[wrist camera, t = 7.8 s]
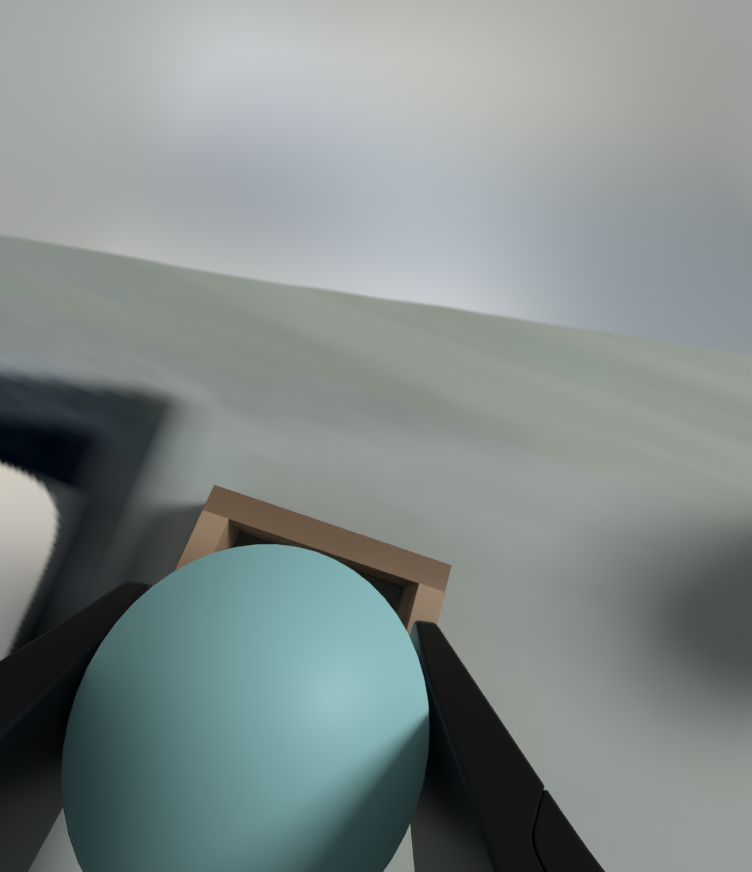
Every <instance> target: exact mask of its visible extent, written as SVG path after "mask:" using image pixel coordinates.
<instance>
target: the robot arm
mask: <svg viewBox="0 0 752 872" xmlns="http://www.w3.org/2000/svg"><path fill="white" fill-rule="evenodd" d="M151 587H152V585H151V584H150V583H146V582H139V581H128V582H126V583H124V584H122V585H121V586H119V587H117V588H116V589H114V590H113V591H111V592H109V593H108V594H106V595H105V596H103V597H101V598H100V599H98V600H97V601H95V602H94V603H92V604H90V605H89V606H87V607H86V608H84V609H82V610H81V611H79V612H78V613H76V614H74V615H73V616H71V617H70V618H68V619H66V620H65V621H63V622H62V623H60V624H58V625H57V626H55V627H54V628H52V629H50V630H49V631H47V632H46V633H44V634H43V635H41V636H39V637H38V638H36V639H35V640H33V641H31V642H30V643H28V644H27V645H25V646H23V647H22V648H20V649H19V650H17V651H15V652H14V653H12V654H11V655H9V656H7V657H6V658H4V659H3V660H1V661H0V872H28V871H29V869H30V867H31V865H32V863H33V861H34V860H35V858H36V856H37V854H38V852H39V850H40V849H41V847H42V845H43V843H44V841H45V839H46V838H47V836H48V834H49V832H50V830H51V828H52V826H53V825H54V823H55V821H56V819H57V817H58V815H59V814H60V812H61V810H62V808H63V799H62V782H61V773H62V757H63V746H64V740H65V735H66V729H67V724H68V719H69V716H70V713H71V709H72V706H73V703H74V700H75V696H76V693H77V691H78V688H79V686H80V684H81V681H82V679H83V677H84V674H85V672H86V670H87V667H88V666H89V664H90V662H91V660H92V659H93V657H94V655H95V653H96V652H97V650H98V648H99V646H100V645H101V643H102V642H103V640H104V639H105V637H106V636H107V635H108V633H109V632H110V631H111V629H112V628H113V626H114V625H115V624H116V622H117V621H118V620H119V619H120V618H121V617H122V616H123V614H124V613H125V612H126V611H127V610H128V609H129V608H130V607H131V606H132V604H133V603H134V602H136V601H137V600H138V599H139V598H140V597H141V596H142V595H143V594H144V593H146V592H147V591H148V590H149V589H150V588H151ZM410 639H411V642H412V644H413V646H414V649H415V651H416V653H417V656H418V659H419V663H420V666H421V669H422V673H423V676H424V681H425V687H426V692H427V698H428V708H429V726H430V730H429V749H428V758H427V764H426V770H425V776H424V782H423V785H422V789H421V792H420V796H419V799H418V803H417V807H416V809H415V812H414V814H413V817H412V819H411V822H410V825H411V836H412V847H413V858H414V869H415V872H605V871H604V870H603V868H602V867H601V866H600V864H599V863H598V862H597V860H596V859H595V858H594V856H593V855H592V854H591V852H590V851H589V850H588V849H587V847H586V846H585V844H584V843H583V841H582V840H581V839H580V837H579V836H578V834H577V833H576V831H575V830H574V828H573V827H572V826H571V824H570V823H569V821H568V820H567V818H566V817H565V816H564V814H563V813H562V811H561V810H560V808H559V807H558V805H557V804H556V802H555V801H554V799H553V798H552V796H551V795H550V793H549V792H548V791H547V790H544V785H543V783H542V782H541V780H540V779H539V777H538V776H537V774H536V773H535V771H534V770H533V768H532V767H531V765H530V764H529V762H528V761H527V759H526V758H525V756H524V755H523V753H522V752H521V750H520V749H519V747H518V746H517V744H516V743H515V741H514V740H513V738H512V737H511V735H510V734H509V732H508V731H507V729H506V728H505V726H504V725H503V723H502V722H501V720H500V719H499V717H498V716H497V714H496V713H495V711H494V710H493V708H492V707H491V705H490V704H489V702H488V701H487V699H486V698H485V696H484V695H483V693H482V692H481V690H480V689H479V687H478V686H477V684H476V683H475V681H474V680H473V678H472V677H471V675H470V674H469V672H468V671H467V669H466V668H465V666H464V665H463V663H462V662H461V660H460V659H459V657H458V656H457V654H456V653H455V651H454V650H453V648H452V647H451V645H450V644H449V642H448V641H447V639H446V638H445V636H444V635H443V633H442V632H441V630H440V629H439V627H438V626H437V625H436V624H435V623H434V622H428V621H421V620H417V621H415V622H414V624H413V626H412V630H411V634H410Z"/></svg>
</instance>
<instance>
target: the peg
mask: <svg viewBox="0 0 752 872" xmlns="http://www.w3.org/2000/svg"><path fill="white" fill-rule="evenodd" d="M429 730H430V726H429V708H428V698H427V692H426V687H425V681H424V676H423V673H422V669H421V666H420V663H419V659H418V656H417V653H416V651H415V649H414V646H413V644H412V642H411V639H410V637H409V634H408V633H407V631H406V629H405V628H404V626H403V624H402V622H401V621H400V619H399V617H398V615H397V614H396V613H395V611H394V610H393V609H392V607H391V606H390V605H389V603H388V602H387V601H386V600H385V598H384V597H383V596H382V595H381V594H380V593H379V592H378V591H377V590H376V589H375V588H374V587H373V586H372V585H371V584H370V583H369V582H368V581H366V580H365V579H364V578H363V577H361V576H360V575H359V574H357V573H356V572H355V571H354V570H352V569H350V568H349V567H347V566H345V565H343V564H342V563H340V562H338V561H337V560H335V559H332V558H330V557H327V556H325V555H323V554H320V553H318V552H315V551H311V550H307V549H303V548H299V547H294V546H286V545H278V544H256V545H248V546H241V547H234V548H230V549H227V550H223V551H219V552H215V553H212V554H210V555H207V556H205V557H202V558H200V559H197V560H195V561H192V562H191V563H189V564H187V565H185V566H183V567H181V568H180V569H178V570H176V571H174V572H172V573H171V574H169V575H168V576H167V577H165V578H164V579H162V580H161V581H159V582H158V583H157V584H155V585H154V586H152V587H151V588H150V589H149V590H148V591H147V592H146V593H144V594H143V595H142V596H141V597H140V598H139V599H138V600H137V601H136V602H134V603H133V604H132V606H131V607H130V608H129V609H128V610H127V611H126V612H125V613H124V614H123V616H122V617H121V618H120V619H119V620H118V621H117V622H116V624H115V625H114V626H113V628H112V629H111V631H110V632H109V633H108V635H107V636H106V637H105V639H104V640H103V642H102V643H101V645H100V646H99V648H98V650H97V652H96V653H95V655H94V657H93V659H92V660H91V662H90V664H89V666H88V667H87V670H86V672H85V674H84V677H83V679H82V681H81V684H80V686H79V688H78V691H77V693H76V696H75V700H74V703H73V706H72V709H71V713H70V716H69V719H68V724H67V729H66V735H65V740H64V746H63V757H62V773H61V782H62V799H63V809H64V814H65V819H66V824H67V830H68V835H69V838H70V840H71V843H72V846H73V849H74V852H75V855H76V858H77V861H78V863H79V865H80V867H81V869H82V871H83V872H383V871H384V869H385V868H386V867H387V865H388V864H389V862H390V861H391V860H392V858H393V856H394V854H395V852H396V850H397V849H398V847H399V845H400V843H401V841H402V839H403V838H404V836H405V834H406V831H407V829H408V827H409V824H410V822H411V819H412V817H413V814H414V812H415V809H416V807H417V803H418V799H419V796H420V792H421V789H422V785H423V782H424V776H425V770H426V764H427V758H428V749H429Z"/></svg>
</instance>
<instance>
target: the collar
mask: <svg viewBox="0 0 752 872" xmlns="http://www.w3.org/2000/svg"><path fill="white" fill-rule="evenodd" d="M240 532H243V533H245V534H248V535H251V536H254V537H257V538H260V539H263V540H266V541H269V542H272V543H275V544H278V545H286V546H294V547H299V548H303V549H307V550H311V551H315V552H318V553H320V554H323V555H325V556H327V557H330V558H332V559H335V560H337V561H338V562H340V563H342V564H343V565H345V566H347V567H349V568H350V569H352V570H355V571H358V572H361V573H364V574H367V575H370V576H372V577H375V578H378V579H381V580H384V581H387V582H390V583H393V584H396V585H399V586H402V587H404V590H403V593H402V597H401V601H400V604H399V608H398V612H397V615H398V617H399V619H400V621H401V622H402V624H403V626H404V628H405V629H406V631H407V633H408V634H409V637H410V634H411V630H412V626H413V624H414V622H415V621H417V620H421V621H428V622H434V623H435V624H436V625H437V623H438V618H439V614H440V610H441V606H442V602H443V598H444V594H445V589H446V585H447V581H448V577H449V573H450V569H451V565H449V564H446V563H443V562H440V561H437V560H434V559H431V558H428V557H425V556H422V555H419V554H416V553H413V552H410V551H407V550H404V549H402V548H399V547H396V546H393V545H390V544H387V543H384V542H381V541H378V540H375V539H372V538H369V537H366V536H363V535H360V534H357V533H354V532H351V531H348V530H346V529H343V528H340V527H337V526H334V525H331V524H328V523H325V522H322V521H319V520H316V519H313V518H310V517H307V516H304V515H301V514H298V513H295V512H293V511H290V510H287V509H284V508H281V507H278V506H275V505H272V504H269V503H266V502H263V501H260V500H257V499H254V498H251V497H248V496H245V495H242V494H240V493H237V492H234V491H231V490H228V489H225V488H222V487H219V486H216V485H214V487H213V489H212V491H211V493H210V495H209V498H208V500H207V502H206V504H205V506H204V508H203V511H202V513H201V515H200V517H199V519H198V521H197V524H196V526H195V528H194V530H193V532H192V534H191V537H190V539H189V541H188V543H187V545H186V547H185V550H184V552H183V554H182V556H181V558H180V560H179V563H178V565H177V567H176V569H175V571H176V570H178V569H180V568H181V567H183V566H185V565H187V564H189V563H191V562H192V561H195V560H197V559H200V558H202V557H205V556H207V555H210V554H212V553H215V552H219V551H223V550H227V549H230V548H233V547H234V545H235V542H236V540H237V538H238V535H239V533H240Z"/></svg>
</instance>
